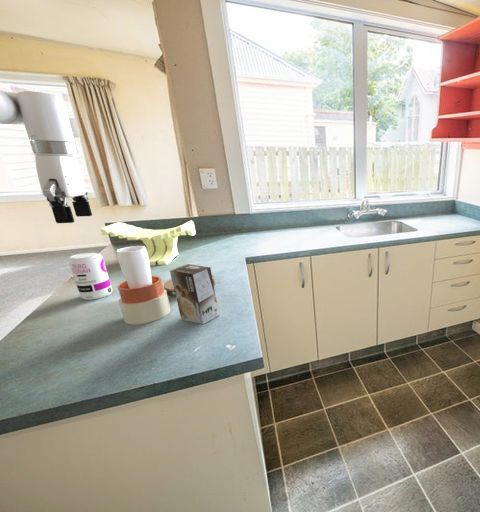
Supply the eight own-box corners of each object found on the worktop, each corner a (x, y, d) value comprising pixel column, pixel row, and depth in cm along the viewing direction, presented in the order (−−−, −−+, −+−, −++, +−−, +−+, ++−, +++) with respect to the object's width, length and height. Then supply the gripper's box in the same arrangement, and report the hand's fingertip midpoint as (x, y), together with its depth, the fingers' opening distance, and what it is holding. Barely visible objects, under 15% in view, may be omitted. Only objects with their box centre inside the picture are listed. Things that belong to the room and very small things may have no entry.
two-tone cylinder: (118, 327, 85) (111, 307, 83) (131, 309, 95) (126, 291, 93) (166, 319, 89) (161, 300, 87) (174, 303, 99) (170, 285, 97)
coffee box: (220, 314, 93) (212, 266, 88) (203, 325, 87) (193, 274, 82) (197, 310, 95) (188, 263, 90) (179, 319, 89) (168, 270, 84)
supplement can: (113, 288, 110) (101, 250, 105) (112, 296, 104) (100, 255, 99) (82, 294, 105) (69, 254, 100) (80, 303, 99) (66, 260, 94)
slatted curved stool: (199, 253, 152) (193, 219, 146) (188, 263, 137) (180, 225, 132) (131, 256, 145) (122, 220, 139) (111, 267, 130) (100, 228, 125)
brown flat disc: (223, 286, 113) (222, 278, 113) (177, 301, 101) (176, 293, 100) (202, 277, 122) (200, 270, 121) (157, 290, 109) (155, 282, 108)
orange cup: (121, 326, 86) (111, 291, 82) (133, 310, 95) (124, 278, 91) (164, 319, 90) (156, 286, 86) (171, 304, 99) (164, 274, 95)
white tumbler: (123, 298, 88) (109, 250, 83) (147, 289, 94) (135, 244, 90) (139, 302, 86) (126, 253, 81) (162, 292, 92) (151, 246, 88)
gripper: (54, 150, 78) (73, 214, 83) (9, 147, 63) (35, 226, 68) (91, 151, 81) (107, 213, 86) (56, 149, 66) (78, 225, 71)
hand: (75, 219), depth 77 cm, fingers open, 9 cm apart
